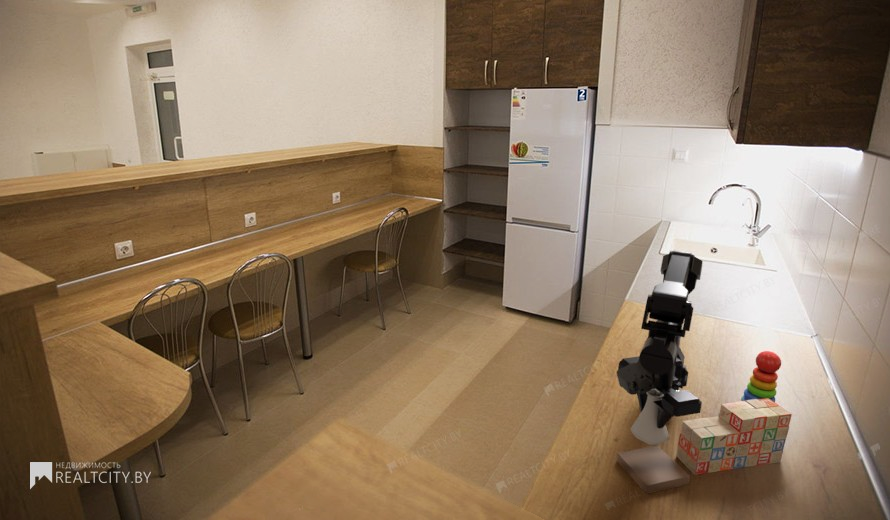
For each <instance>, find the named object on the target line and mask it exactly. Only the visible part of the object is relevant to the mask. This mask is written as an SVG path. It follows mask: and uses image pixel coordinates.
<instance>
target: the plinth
mask: <svg viewBox="0 0 890 520" xmlns="http://www.w3.org/2000/svg"><path fill="white" fill-rule="evenodd" d="M616 462H617V463H618V465H619V466H620V467H622V469H623V470H624V471H625V472H626V473H627V474H628V475H629V476H630V478H631V479H632V478H633V479H634V480H635V481H636V482H637V483H638V484H639V485H638V484H637V483H636V482H635V481H634V480H633V481H634V482H635V483H636V484H637V485H638V486H639V487H640V488H641V490H642V489H643V490H642V491H643V492H644V493H645V494H650V492H652V493H656V492H659V490H661V491H664V489H665V490H669V489H673V488H672V487H674V488H678V487H682V485H683V486H686V485H689V484H690V483H689V482H690V478H691V476H690V475H689V474H688V473H687V471H686V470H684V469H683V468H682V467H681V466H680V465H679V464H678V463H677V462H675V461H674V459H673V458H671V457H670V456H669V455H668V454H667V453H666V452H665V451H664V450H663V449H662V448H661V447H660V446H659V445H651V446H649V447H648V446H647V447H642V448H637V449H633V450H628V451H623V452H618V453H617V455H616ZM668 488H669V489H668ZM655 491H656V492H655Z"/></svg>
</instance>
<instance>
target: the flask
mask: <svg viewBox="0 0 890 520" xmlns="http://www.w3.org/2000/svg"><path fill="white" fill-rule="evenodd" d="M646 393H647V395H648V397H647V401H646V404H645V407H644V409H643V410H642V412H641V411H640V414H639V415H638V417H637V418H636V420H635V422H634V423H633V424H632V426H631V428H630V431H631V433H632V434H633V436H634V437H635V438H636V439H637V440H640V441H641V442H644V443H645V444H647V445H650V446H655V445H663V444H666V442H667V441H668V440H669V439H670V436H669V432H668V429H667V424H666V425H665V426H664V427H663V428H660V429H659V428H657V416H658V406H657V405H656V404H655V403H654V402H653V401H658V400H662V397H663V394H662V393H659V392H657V391H656V390H655V389H652V390H650V391H648V392H646Z"/></svg>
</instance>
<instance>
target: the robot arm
mask: <svg viewBox="0 0 890 520" xmlns="http://www.w3.org/2000/svg"><path fill="white" fill-rule="evenodd" d="M660 266H661V267H660V273H661V275H663V279H662V282H661V283H659V284H656V285H655V286H654V288H653V290H652V293H651V294H648V295H647V299H646V303H645V309H644V313H643V317H642V324H641V328H640V329H641V330H645V331H648V334H647V335H648V336H647V338H646V339H645V341H644V344H643V346H642V349H641V350H640V353H639V356H631V357H624V358H622V359H621V360H620V361H619V362H618V366H617V367H618V368H617V371H616V377H617V381H618V384H619V387H621V388H623V389H624V390H625V391H626V393H628V394H629V395H631V396H632V395H633V396H634V395H636V396H637V401H638V405H639V409H640V413H641V412H642V410H643V409H644V407H645V404H646V401H647V397H648V395H647V393H646V392H648V391H650V390H652V389H655V390H656V391H657V392H659V393H662V394H663V397H662V400H658V401H653V402H654V403H655V404H656V405H657V406H658V416H657V428H659V429H660V428H663V427H664V426H665V425H666V426H667V424H668V423H669V421H670V420H671V419H672V418H673V417H677V418H678V417H683V416H690V415H695V414H700V413H701V410H702V404H703V402H702V401H701V400H700V398H698V397H697V396H696V395H694V394H693V393H691V392H690V391H689V390H687V389H683V388H684V387H687V385H688V378H689V377H688V376H689V371H688V369H687V365H684V363H685V354H684V352H683V351H682V349H681V347H680V343H681V338H685V337H686V333H687V332H690V330H691V324H692V319H693V315H694V314H693V313H694V306H693V303H692V301H689V300H688V299H689V295H690V294H691V293H692V292H693V291H694V290H695V288H696V286H697V285H696V284H697V280H698V281H700V280H701V276H702V269H703V260H702V259H699V258H698V257H696V256H695V253H692V252H690V251H683V250H676V249H674V250H670V251H669V253H667V254H664V255H663V256H662V260H661V265H660ZM648 318H649V320H648ZM650 319H652V320H650ZM686 331H687V332H686Z"/></svg>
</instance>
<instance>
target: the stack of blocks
mask: <svg viewBox="0 0 890 520" xmlns="http://www.w3.org/2000/svg"><path fill="white" fill-rule="evenodd" d="M792 415H793V414H792V413H791V412H790V411H788V410H787V409H786V408H784V407H783V406H782V405H779V404H778V403H777V402H776V401H775V402H773V401H772V400H770V399H769V398H766V399H758V400H757V399H752V400H746V401H741V400H740V401H733V402H727V403H721V404H720V409H719V412H718V416H717V415H716V416H712V417H711V416H710V417H701V418H700V417H699V418H694V419H687V420H683V421H682V423H681V429H680V433H679V437H678V443H677V450H676V457H677V458H678V460H680V461H681V463H682V464H684V465H685V467H686V468H687V469H688V470H690V472H691V473H692V474H693V475H698V474H706V473H707V474H708V473H709V474H711V473H715V472H722V471H728V470H732V469H733V470H734V469H742V468H746V467H754V466H761V465H768V464H775V463H781V461H782V457H783V454H784V448H785V443H786V439H787V438H788V433H789V430H790V423H791V419H792Z"/></svg>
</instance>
